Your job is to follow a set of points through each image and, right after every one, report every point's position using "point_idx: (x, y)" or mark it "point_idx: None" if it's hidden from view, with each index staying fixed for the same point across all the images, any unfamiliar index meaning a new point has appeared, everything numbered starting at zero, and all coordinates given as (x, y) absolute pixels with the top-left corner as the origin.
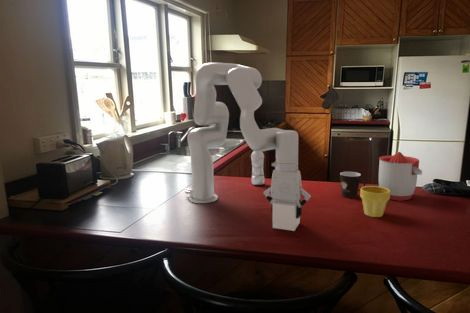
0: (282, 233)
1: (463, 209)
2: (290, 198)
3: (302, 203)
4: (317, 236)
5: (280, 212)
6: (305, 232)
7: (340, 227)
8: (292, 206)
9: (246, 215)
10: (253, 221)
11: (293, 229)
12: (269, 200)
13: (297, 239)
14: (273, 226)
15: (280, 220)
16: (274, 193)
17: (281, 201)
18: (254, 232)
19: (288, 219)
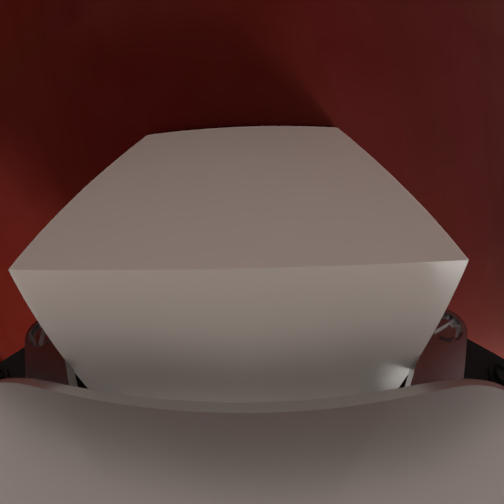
0: (223, 54)
1: None
2: (62, 434)
3: (21, 365)
4: (11, 138)
5: (280, 182)
6: (79, 156)
7: (11, 287)
8: (40, 264)
9: (489, 274)
10: (468, 211)
11: (150, 136)
12: (476, 352)
13: (84, 19)
14: (332, 130)
15: (271, 146)
16: (496, 488)
17: (313, 387)
18: (437, 25)
19: (173, 159)
